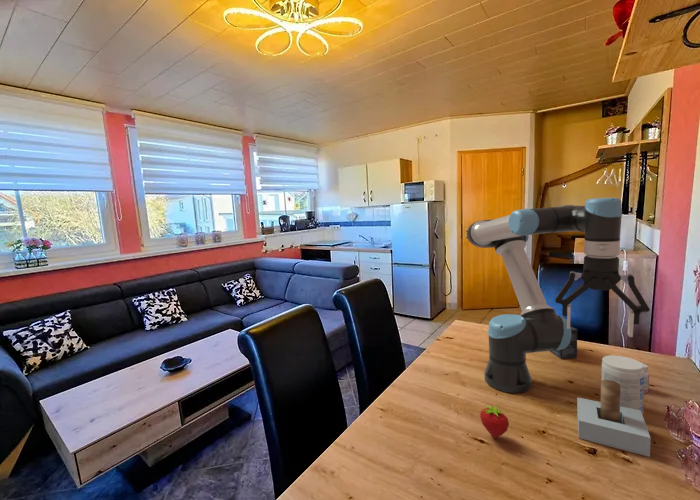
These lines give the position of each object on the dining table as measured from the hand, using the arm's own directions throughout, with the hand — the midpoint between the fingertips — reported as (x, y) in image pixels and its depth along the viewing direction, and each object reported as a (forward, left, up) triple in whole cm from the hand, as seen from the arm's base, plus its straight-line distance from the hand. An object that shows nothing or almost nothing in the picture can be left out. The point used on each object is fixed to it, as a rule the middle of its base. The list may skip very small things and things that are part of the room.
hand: (597, 331), depth 89 cm
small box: (-10, +44, -26) cm, 52 cm away
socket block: (+2, -6, -26) cm, 27 cm away
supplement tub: (+6, +8, -26) cm, 28 cm away
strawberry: (-24, -22, -26) cm, 41 cm away
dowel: (+2, -6, -26) cm, 27 cm away
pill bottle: (+12, +23, -26) cm, 37 cm away
